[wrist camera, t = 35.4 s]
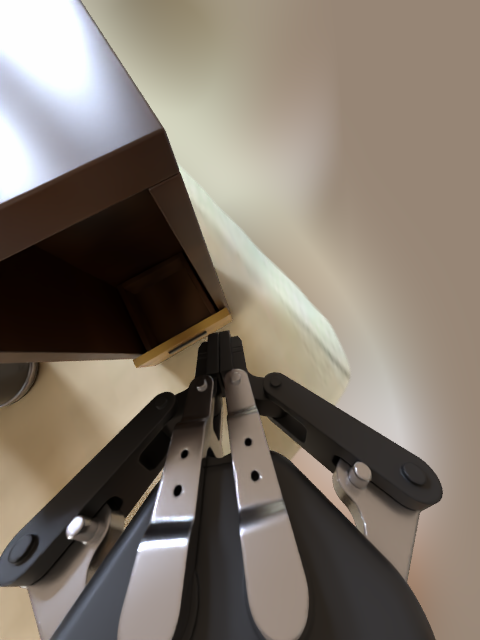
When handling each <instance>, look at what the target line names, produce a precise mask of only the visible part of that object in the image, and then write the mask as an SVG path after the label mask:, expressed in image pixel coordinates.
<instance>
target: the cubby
mask: <svg viewBox="0 0 480 640" xmlns="http://www.w3.org/2000/svg"><path fill="white" fill-rule="evenodd" d="M180 252H182V253H183V254H184V256H185V258H186V259H187V261H188V263H189V264H190V266H191V268H192V269H193V271H194V273H195V275H196V276H197V278H198V280H199V282H200V283H201V285H202V287H203V289H204V290H205V292H206V294H207V296H208V297H209V299H210V301H211V303H212V304H213V306H214V308H215V310H216V311H217V312H218V311H220V310H222V309H224V308H227V309H228V311H229V308H228V305H227V302H226V299H225V296H224V294H223V291H222V288H221V285H220V282H219V280H218V277H217V274H216V271H215V268H214V266H213V263H212V260H211V257H210V254H209V252H208V249H207V246H206V243H205V240H204V238H203V235H202V232H201V229H200V226H199V223H198V221H197V218H196V215H195V212H194V209H193V207H192V204H191V201H190V198H189V195H188V193H187V190H186V187H185V184H184V181H183V179H182V176H181V173H180V172H179V168H178V165H177V162H176V159H175V157H174V154H173V151H172V148H171V145H170V143H169V139H168V137H167V134H166V131H165V130H164V128H163V126H162V125H161V123H160V122H159V120H158V118H157V117H156V115H155V114H154V112H153V111H152V109H151V108H150V106H149V105H148V103H147V101H146V100H145V98H144V97H143V95H142V94H141V92H140V91H139V89H138V88H137V86H136V85H135V83H134V82H133V80H132V78H131V77H130V76H129V74H128V72H127V71H126V69H125V68H124V66H123V65H122V63H121V62H120V60H119V59H118V57H117V55H116V54H115V52H114V51H113V49H112V48H111V46H110V45H109V43H108V42H107V40H106V39H105V37H104V35H103V34H102V32H101V31H100V29H99V28H98V26H97V25H96V23H95V22H94V20H93V19H92V17H91V16H90V14H89V12H88V11H87V10H86V8H85V6H84V5H83V3H82V2H81V0H0V363H29V362H58V361H86V360H115V359H136V358H137V357H139V356H141V355H143V354H144V353H146V352H147V351H146V349H145V347H144V344H143V342H142V340H141V338H140V336H139V334H138V332H137V329H136V327H135V325H134V323H133V321H132V319H131V317H130V314H129V312H128V310H127V308H126V306H125V304H124V302H123V300H122V297H121V295H120V293H119V291H118V289H117V286H118V285H120V284H122V283H124V282H125V281H127V280H129V279H131V278H133V277H135V276H137V275H139V274H140V273H142V272H144V271H146V270H148V269H150V268H152V267H154V266H156V265H157V264H159V263H161V262H163V261H165V260H167V259H169V258H171V257H172V256H174V255H176V254H178V253H180ZM229 313H230V311H229ZM230 314H231V313H230Z"/></svg>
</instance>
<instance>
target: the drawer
mask: <svg viewBox="0 0 480 640" xmlns="http://www.w3.org/2000/svg"><path fill="white" fill-rule="evenodd" d="M117 289H118V291H119V293H120V295H121V297H122V300H123V302H124V304H125V306H126V308H127V310H128V312H129V314H130V317H131V319H132V321H133V323H134V325H135V327H136V329H137V332H138V334H139V336H140V338H141V340H142V342H143V344H144V347H145V349H146V351H147V352H146V353H144V354H143V355H141V356H139V357H137V358H136V359H134V360H133V362H134V364H135V366H136V368H139V367H148V366H156V365H157V364H159V363H161V362H162V361H164V360H166V359H168V358H169V357H171V356H173V355H175V354H176V353H178V352H180V351H182V350H183V349H185V348H187V347H189V346H190V345H192V344H194V343H195V342H197V341H199V340H201V339H202V338H204V337H206V336H208V334H211V333H213V332H215V331H216V330H218V329H220V328H222V327H223V326H225V325H227V324H229V323H230V322H232V321H233V320H232V318H231V315H230V313H229V311H228V309H227V308H224V309H222V310H220V311H218V312H217V311H216V310H215V308H214V306H213V304H212V303H211V301H210V299H209V297H208V296H207V294H206V292H205V290H204V289H203V287H202V285H201V283H200V282H199V280H198V278H197V276H196V275H195V273H194V271H193V269H192V268H191V266H190V264H189V263H188V261H187V259H186V258H185V256H184V254H183V253H182V252H180V253H178V254H176V255H174V256H172V257H171V258H169V259H167V260H165V261H163V262H161V263H159V264H157V265H156V266H154V267H152V268H150V269H148V270H146V271H144V272H142V273H140V274H139V275H137V276H135V277H133V278H131V279H129V280H127V281H125V282H124V283H122V284H120V285H118V286H117Z"/></svg>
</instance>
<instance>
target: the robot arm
mask: <svg viewBox="0 0 480 640" xmlns="http://www.w3.org/2000/svg"><path fill="white" fill-rule="evenodd" d="M197 359H198V360H197V366H196V374H195V379H193V380H192V382H191V383H190V385H189V388H188V389H186V390H185V391H183V392H181V393H178V394H176V395H174V394H173V393H171V392H163V393H161V394H159V395H157V396H156V397H155V398H154V399H153V400H152V401H151V402H150V403H149V404H148V405H147V406H145V407H144V408H143V409H142V410H141V411H140V412H139V413H138V414H137V415H136V416H135V417H134V418H133V419H132V420H131V421H130V422H129V423H128V424H127V425H126V426H125V427H124V428H123V429H122V430H121V431H120V432H119V433H118V434H117V435H116V436H115V437H114V438H113V439H112V440H111V441H110V442H109V443H108V444H107V445H106V446H105V447H104V448H103V449H102V450H101V451H100V452H99V453H98V454H97V455H96V456H95V457H94V458H93V459H92V460H91V461H90V462H89V463H88V464H87V465H86V466H85V467H84V468H83V469H82V470H81V471H80V472H79V473H78V474H77V475H76V476H75V477H74V478H73V479H72V480H71V481H70V482H69V483H68V484H67V485H66V486H65V487H64V488H63V489H62V490H61V491H60V492H59V493H58V494H57V495H56V496H55V497H54V498H53V499H52V500H51V501H50V502H49V503H48V504H47V505H46V506H45V507H44V508H43V509H42V510H41V511H40V512H39V513H38V514H37V515H36V516H35V517H34V518H33V519H32V520H31V521H30V522H29V523H27V524H26V525H25V526H24V527H23V528H22V529H21V530H20V531H19V532H18V534H17V535H16V536H15V537H14V538H13V539H12V540H11V542H10V543H9V544H8V546H7V547H6V549H5V550H4V552H3V553H2V555H1V557H0V587H17V586H19V587H20V588H26V589H27V590H28V593H29V597H30V600H31V604H32V608H33V612H34V615H35V619H36V623H37V627H38V630H39V634H40V638H41V640H435V637H434V634H433V631H432V629H431V627H430V624H429V622H428V620H427V618H426V615H425V613H424V611H423V609H422V607H421V605H420V604H419V602H418V600H417V598H416V597H415V595H414V593H413V592H412V590H411V588H410V587H409V585H408V584H407V579H408V574H409V569H410V563H411V558H412V552H413V547H414V542H415V536H416V531H417V525H418V519H419V515H420V512H421V511H422V510H424V509H426V508H428V507H430V506H432V505H434V504H436V503H437V502H439V501H440V500H441V498H442V494H443V491H442V486H441V483H440V481H439V479H438V477H437V475H436V474H435V473H434V471H433V470H432V469H431V468H430V467H429V466H428V465H427V464H426V463H425V462H424V461H423V460H422V459H420V458H419V457H417V456H415V455H414V454H412V453H410V452H409V451H407V450H406V449H404V448H402V447H401V446H399V445H397V444H396V443H394V442H392V441H391V440H389V439H388V438H386V437H384V436H383V435H381V434H380V433H378V432H376V431H375V430H373V429H371V428H370V427H368V426H366V425H365V424H363V423H361V422H360V421H358V420H357V419H355V418H353V417H352V416H350V415H348V414H347V413H345V412H344V411H342V410H340V409H339V408H337V407H335V406H334V405H332V404H330V403H329V402H327V401H326V400H324V399H322V398H321V397H319V396H317V395H316V394H314V393H312V392H311V391H309V390H308V389H306V388H304V387H303V386H301V385H299V384H298V383H296V382H295V381H293V380H291V379H290V378H288V377H286V376H285V375H283V374H281V373H276V372H274V373H270V374H268V375H266V376H265V377H264V378H262V377H256V376H253V375H251V374H250V373H249V372H248V371H247V368H246V363H245V357H244V352H243V346H242V341H241V339H240V338H239V337H238V336H235V337H231V335H230V331H229V330H228V331H223V332H217V333H212V334H208V342H202V344H201V345H200V347H199V349H198V357H197ZM37 370H38V362H29V363H0V407H4V406H8V405H10V404H12V403H14V402H16V401H18V400H19V399H20V398H22V397H23V396H24V395H25V394H26V393H27V392H28V390H29V389H30V388H31V386H32V384H33V382H34V380H35V378H36V375H37ZM222 397H226V404H227V412H228V415H227V423H228V431H229V439H230V447H231V453H230V454H228V455H226V456H224V457H223V449H222V427H223V406H222V405H223V403H222ZM260 415H262V416H267V417H268V418H269V419H270V420H271V421H272V422H273V423H274V424H275V425H277V426H278V427H279V428H280V429H281V430H282V431H284V432H285V433H286V434H287V435H288V436H289V437H291V438H292V439H293V440H294V441H295V442H297V443H298V444H299V445H300V446H301V447H302V448H304V449H305V450H306V451H307V452H308V453H309V454H311V455H312V456H313V457H314V458H315V459H317V460H318V461H319V462H320V463H321V464H322V465H324V466H325V467H326V468H327V469H328V470H330V471H331V472H332V473H333V486H334V489H335V491H336V493H337V495H338V497H339V498H340V500H341V501H342V502H343V503H344V504H345V505H346V506H347V508H348V509H349V511H350V512H351V514H352V516H353V519H354V521H355V524H356V527H355V526H354V525H353V524H352V523H351V522H350V521H349V520H348V519H347V518H346V517H345V516H344V515H343V514H342V513H341V512H340V511H339V510H338V509H337V508H336V507H335V506H334V505H333V504H332V503H331V502H330V501H329V500H328V499H327V498H326V496H325V495H324V494H323V493H322V492H321V491H320V490H319V489H317V488H316V486H315V485H314V484H312V482H311V481H310V480H309V479H308V478H307V477H306V476H305V475H304V474H303V473H302V472H301V471H299V469H298V468H297V467H296V466H295V465H294V464H293V463H292V462H291V461H290V460H288V459H287V458H286V457H284V456H283V455H281V454H279V453H277V452H275V451H271V450H269V447H268V444H267V440H266V436H265V433H264V429H263V426H262V422H261V419H260ZM163 467H164V469H163V472H162V476H161V480H160V481H159V482H158V483H157V484H156V486H155V487H154V488H153V490H152V491H151V492H150V494H149V495H148V497H147V498H146V500H145V501H144V503H143V504H142V505H141V507H140V508H139V510H138V511H137V513H136V514H135V516H134V517H133V519H132V520H131V521H130V523H129V524H128V526H127V527H126V529H125V530H124V524H125V518H126V517H127V516H128V514H129V513H130V512H131V510H132V509H133V508H134V506H135V505H136V503H137V502H138V501H139V499H140V498H141V497H142V495H143V494H144V493H145V491H146V490H147V489H148V487H149V486H150V485H151V483H152V482H153V481H154V479H155V478H156V476H157V475H158V474H159V472H160V471H161V470H162V468H163Z"/></svg>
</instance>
